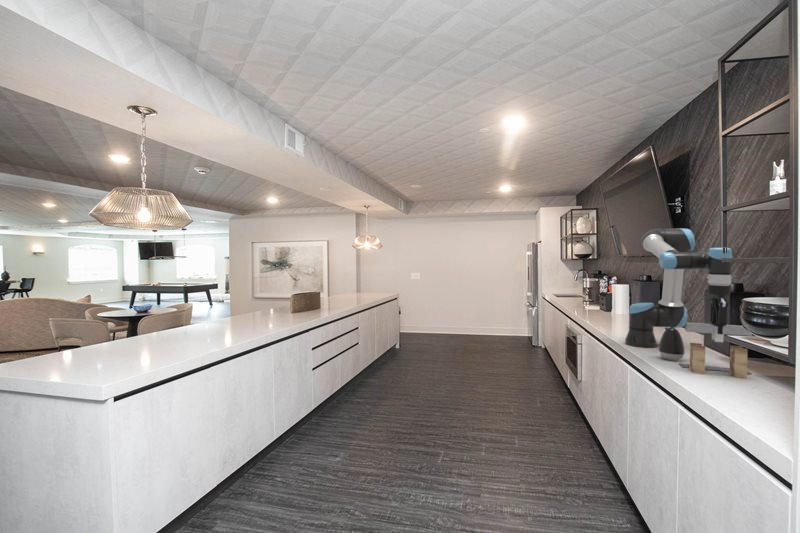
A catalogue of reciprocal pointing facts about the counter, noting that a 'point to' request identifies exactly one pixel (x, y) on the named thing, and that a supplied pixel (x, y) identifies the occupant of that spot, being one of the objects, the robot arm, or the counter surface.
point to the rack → (736, 360)
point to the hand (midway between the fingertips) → (717, 340)
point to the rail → (711, 329)
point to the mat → (711, 368)
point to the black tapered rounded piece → (671, 345)
